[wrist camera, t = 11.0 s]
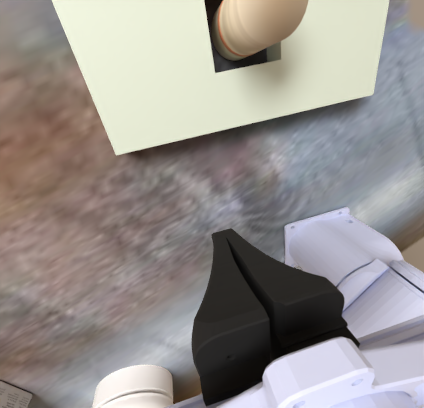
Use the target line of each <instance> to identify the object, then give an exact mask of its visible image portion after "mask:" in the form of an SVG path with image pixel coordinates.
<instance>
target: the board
mask: <svg viewBox="0 0 424 408" xmlns="http://www.w3.org/2000/svg"><path fill="white" fill-rule="evenodd" d="M52 2H53V4H54V7H55V9H56V12H57V14H58V17H59V19H60V21H61V24H62V26H63V29H64V31H65V33H66V36H67V38H68V41H69V43H70V45H71V48H72V50H73V53H74V55H75V57H76V60H77V62H78V65H79V67H80V69H81V72H82V74H83V77H84V79H85V81H86V84H87V86H88V89H89V91H90V93H91V96H92V98H93V101H94V103H95V105H96V108H97V110H98V113H99V115H100V117H101V120H102V122H103V125H104V127H105V129H106V132H107V134H108V137H109V139H110V142H111V144H112V146H113V149H114V151H115V154H116V155H120V154H124V153H128V152H133V151H137V150H141V149H145V148H149V147H154V146H158V145H162V144H166V143H171V142H175V141H179V140H183V139H188V138H192V137H196V136H200V135H205V134H209V133H213V132H217V131H221V130H226V129H230V128H234V127H238V126H243V125H247V124H251V123H255V122H260V121H264V120H268V119H272V118H277V117H281V116H285V115H289V114H293V113H298V112H302V111H306V110H310V109H315V108H319V107H323V106H327V105H332V104H336V103H340V102H344V101H349V100H353V99H357V98H361V97H365V96H370V95H373V92H374V86H375V81H376V75H377V69H378V63H379V57H380V52H381V46H382V40H383V34H384V29H385V23H386V17H387V11H388V5H389V0H308V5H307V9H306V12H305V14H304V17H303V19H302V21H301V23H300V24H299V26H298V27H297V29H296V30H295V31H294V32H293V33H292V34H291V35H290V36H289V37H287V38H286V39H284V40H282V41H280V42H278V43H275V44H273V45H271V46H269V47H267V63H262V64H257V65H252V66H248V67H243V68H238V69H233V70H228V71H223V72H218V73H215V69H214V62H213V55H212V49H211V42H210V35H209V29H208V22H207V15H206V9H205V2H204V0H52Z"/></svg>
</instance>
